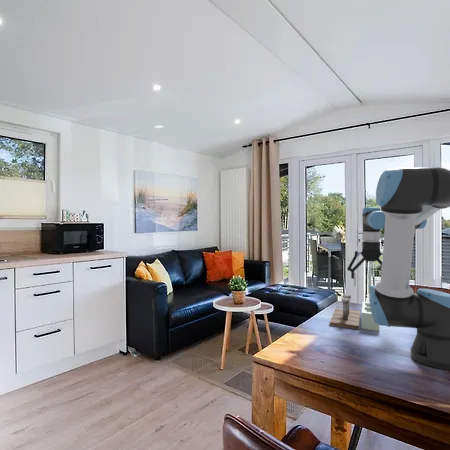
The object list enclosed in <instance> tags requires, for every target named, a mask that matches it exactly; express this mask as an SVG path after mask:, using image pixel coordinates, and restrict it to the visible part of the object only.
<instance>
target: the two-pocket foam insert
mask: <svg viewBox="0 0 450 450" xmlns="http://www.w3.org/2000/svg"><path fill="white" fill-rule="evenodd" d="M361 304H362V306H361V318H360V323H361V325H360V326H361V327H360V328H361V330H369V331H376V332H377V331H378V332H380V325H378V324H376V323H375V321H374V320H373V317H372V313H371V308H370V302H369V301H362V303H361Z"/></svg>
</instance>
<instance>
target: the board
mask: <svg viewBox="0 0 450 450" xmlns="http://www.w3.org/2000/svg"><path fill="white" fill-rule="evenodd" d="M351 298H352V295H351V294H347V293H346V294H343V295H342V298H341V299H340V300H341V302H342V308H338V307H337V308H335V309H334V312H333V313H332V316H331V319H330V321H329V326H331V327H338V328H346V329H353V330H354V329H355V330H359V329H360V323H361V316H362V310H361V311H360V310H354V309H353V310H352V309H350V303H351Z"/></svg>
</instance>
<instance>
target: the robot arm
mask: <svg viewBox="0 0 450 450" xmlns="http://www.w3.org/2000/svg"><path fill="white" fill-rule="evenodd" d="M375 204H376V205H377V206H379V207H375V206H374V207H373V206H372V207H370V206H369V207H364V208H362V213H361V216H362V232H361V233H362V234H361V235H362V236H361V237H362V242H361V243H362V244H361V248H362V249H361V251H360V250H359V251H358V250H355V251H354V256H353V257H352V259H351V261H350V263H349V264H348V267H347V271H350V273H351V274H350V275H351V276H350V277H351V279H352V280H353V287H356V284H357V271H356V270H357V269H358V268H359V267H360V266H361V265H362V264H363V263H364V262H365V261H366V262H373V263H374V262H378V264H379V265H380V266H381V271H380V273H381V274H380V282H378V283H376V284H375V285H376V287H375V291H370V294H369V295H368V297H369V300H368V302H369V301H370V308H371V313H372V317H373V320H374V321H375V323H376V324H378V325H379V326H384V327H389V328H390V327H393V328H394V327H396V328H409V329H416V335H415V338H414V340H413V343H412V345H411V347H410V357H411V358H412V359H413V360H414V361H416V362H417V363H420V364H422V365H424V366H427V367H431V368H434V369H438V370H439V369H440V370H445V371H446V370H448V371H449V370H450V293H448V292H444V291H440V290H435V289H430V288H418V289H417V290H416V292H415V291H414V289H413V288H412V287H411V285H410V281H411V270H412V260H413V248H414V240H415V239H414V238H415V231H416V230H422V229H424V228H426V225H427V221H428V219H429V218H430V217H432V216H434V215H435V214H436V213H438V212H439V211H440V210H442V209H448V208H450V170H449V169H447V168H444V167H439V166H438V167H433V166H431V167H397V168H391V169H390V168H389V169H386V170H384V171H383V172H382V173H381V175H380V176H379V179H378V181H377V185H376V189H375ZM381 230H384V234H383V246H382V252H381V242H380V241H381ZM360 255H361V256H362V259H360V260H359V261H358V263H356V264H355V262H356V259H357V258H358V257H359V256H360ZM381 256H382V258H381ZM380 258H381V259H382V260H381V259H380ZM354 264H355V265H354ZM353 265H354V267H353Z"/></svg>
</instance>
